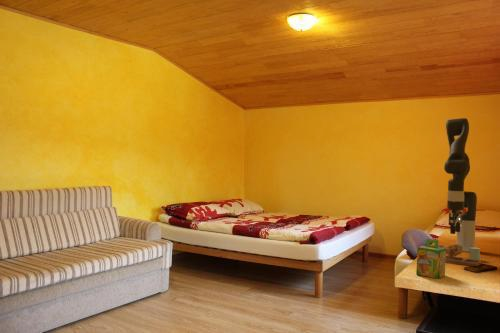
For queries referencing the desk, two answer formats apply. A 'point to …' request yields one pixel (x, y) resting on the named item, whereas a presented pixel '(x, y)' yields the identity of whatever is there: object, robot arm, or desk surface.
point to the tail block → (474, 253)
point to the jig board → (463, 261)
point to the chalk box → (431, 260)
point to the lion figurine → (452, 250)
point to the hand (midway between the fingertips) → (455, 232)
